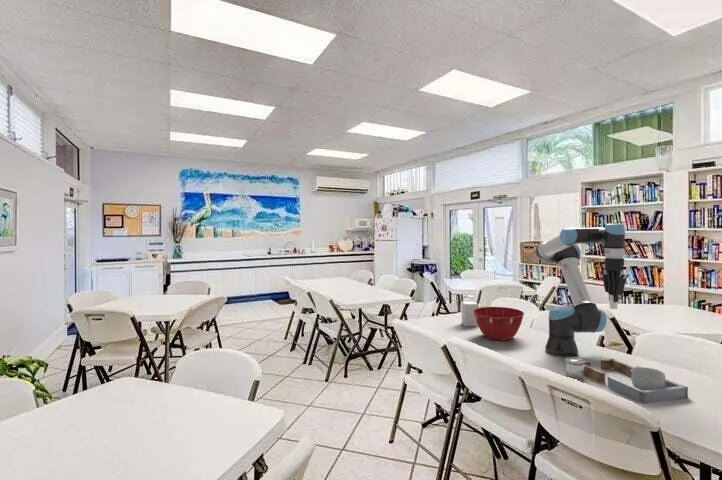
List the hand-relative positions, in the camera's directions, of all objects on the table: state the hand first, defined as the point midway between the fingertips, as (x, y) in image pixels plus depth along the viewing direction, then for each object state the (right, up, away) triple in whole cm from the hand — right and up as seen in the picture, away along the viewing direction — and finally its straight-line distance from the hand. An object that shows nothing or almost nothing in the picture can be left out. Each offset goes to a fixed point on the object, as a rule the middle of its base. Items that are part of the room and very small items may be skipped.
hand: (613, 308), depth 176 cm
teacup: (-3, -28, -24) cm, 37 cm away
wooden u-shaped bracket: (-8, -28, -8) cm, 30 cm away
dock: (-4, -28, -25) cm, 38 cm away
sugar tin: (-24, -28, -11) cm, 38 cm away
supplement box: (-43, -26, +81) cm, 95 cm away
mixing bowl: (-34, -26, +52) cm, 67 cm away
